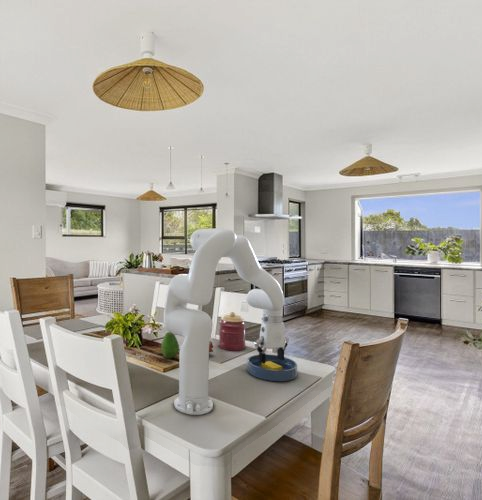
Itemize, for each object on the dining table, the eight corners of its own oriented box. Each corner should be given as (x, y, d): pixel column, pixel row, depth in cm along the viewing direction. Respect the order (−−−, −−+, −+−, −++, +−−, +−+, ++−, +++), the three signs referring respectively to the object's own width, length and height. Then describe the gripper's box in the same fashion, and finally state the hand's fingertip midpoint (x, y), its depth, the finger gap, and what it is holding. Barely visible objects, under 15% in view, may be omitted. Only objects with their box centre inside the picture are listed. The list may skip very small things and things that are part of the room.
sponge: (282, 373, 144) (282, 366, 144) (273, 375, 142) (273, 368, 142) (269, 367, 151) (269, 360, 151) (261, 369, 149) (261, 362, 149)
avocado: (159, 360, 160) (159, 333, 160) (163, 354, 168) (163, 329, 167) (177, 361, 158) (177, 334, 158) (180, 356, 166) (180, 330, 166)
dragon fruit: (212, 355, 172) (197, 366, 163) (199, 342, 175) (184, 352, 167) (220, 344, 167) (206, 354, 158) (207, 331, 171) (192, 340, 162)
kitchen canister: (218, 350, 175) (219, 314, 174) (218, 342, 188) (219, 308, 187) (246, 351, 173) (247, 315, 172) (244, 343, 186) (245, 309, 185)
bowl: (303, 383, 136) (303, 371, 136) (251, 381, 138) (251, 369, 138) (289, 365, 155) (289, 355, 155) (244, 363, 157) (244, 353, 157)
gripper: (262, 322, 139) (261, 366, 139) (295, 319, 146) (294, 361, 147) (249, 318, 145) (248, 360, 146) (282, 315, 153) (280, 355, 153)
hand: (271, 360), depth 146 cm, fingers open, 9 cm apart
